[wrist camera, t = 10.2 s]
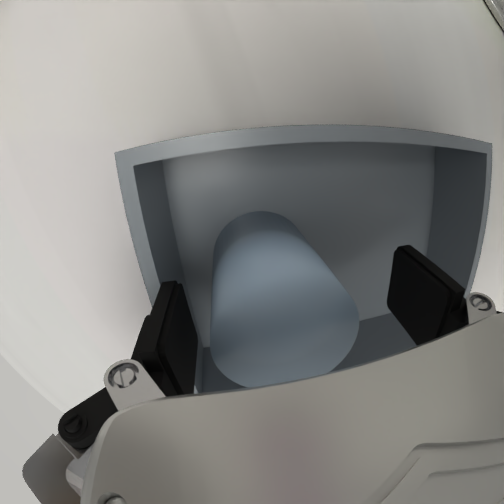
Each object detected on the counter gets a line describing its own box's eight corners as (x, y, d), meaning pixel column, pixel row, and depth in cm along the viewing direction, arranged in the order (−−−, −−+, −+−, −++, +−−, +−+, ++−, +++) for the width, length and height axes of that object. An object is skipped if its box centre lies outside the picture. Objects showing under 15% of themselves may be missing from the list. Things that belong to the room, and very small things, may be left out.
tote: (435, 135, 13) (492, 143, 9) (416, 306, 19) (451, 344, 14) (150, 147, 12) (114, 152, 8) (197, 349, 18) (193, 407, 13)
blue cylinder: (302, 206, 14) (367, 264, 8) (304, 288, 16) (349, 375, 10) (206, 217, 14) (194, 289, 7) (220, 300, 16) (223, 398, 9)
